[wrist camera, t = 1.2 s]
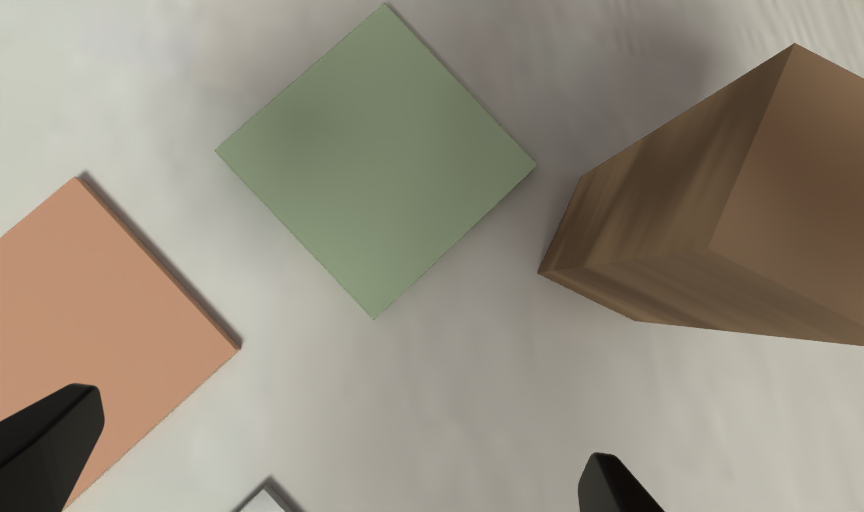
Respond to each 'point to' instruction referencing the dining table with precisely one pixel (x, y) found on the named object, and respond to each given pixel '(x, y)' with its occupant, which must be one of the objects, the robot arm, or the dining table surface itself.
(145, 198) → the dining table surface
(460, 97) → the sage green tile
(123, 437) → the terracotta tile
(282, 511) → the slate grey tile
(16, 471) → the robot arm
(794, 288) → the walnut block
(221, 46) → the dining table surface
